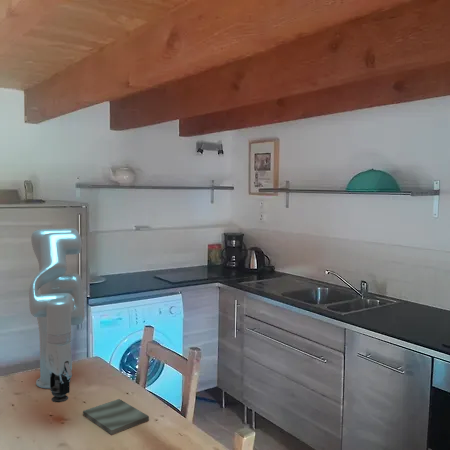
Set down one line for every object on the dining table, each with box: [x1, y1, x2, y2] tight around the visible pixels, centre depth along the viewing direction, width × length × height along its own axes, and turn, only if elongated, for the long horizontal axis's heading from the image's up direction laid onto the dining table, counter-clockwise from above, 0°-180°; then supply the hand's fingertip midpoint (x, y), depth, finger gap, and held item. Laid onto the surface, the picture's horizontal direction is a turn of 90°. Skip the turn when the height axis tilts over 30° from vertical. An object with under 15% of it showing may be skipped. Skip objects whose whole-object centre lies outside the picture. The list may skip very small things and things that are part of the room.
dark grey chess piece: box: [49, 371, 69, 403], centre depth 163 cm, size 6×6×12 cm
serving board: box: [82, 398, 150, 436], centre depth 165 cm, size 18×14×2 cm
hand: (59, 389), depth 163 cm, fingers closed on dark grey chess piece, 5 cm apart
